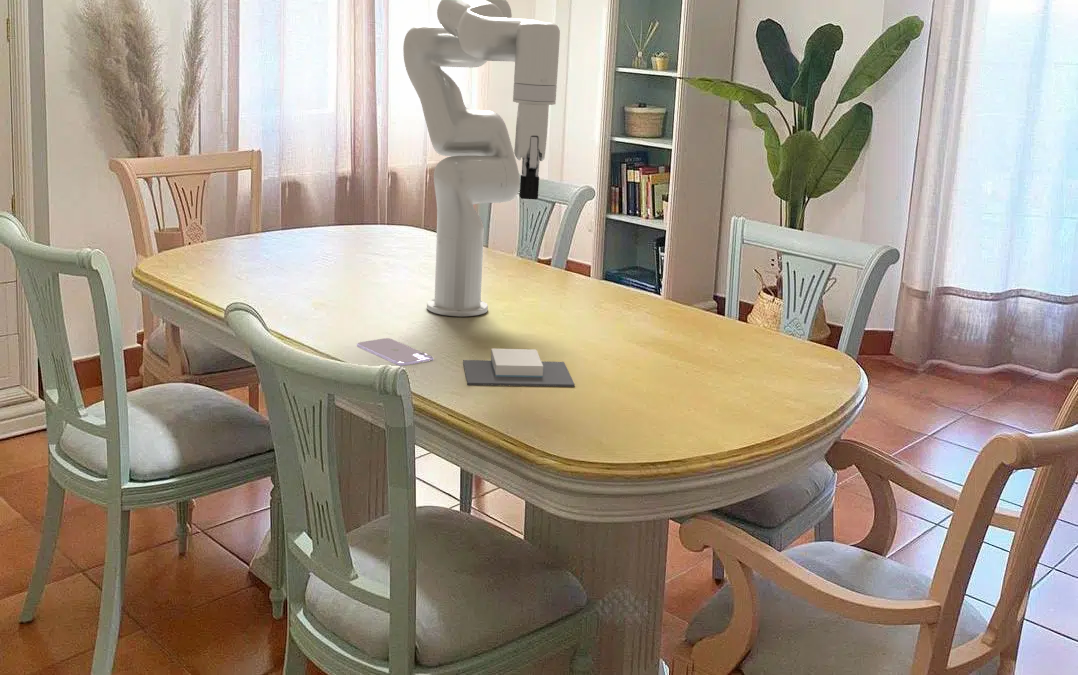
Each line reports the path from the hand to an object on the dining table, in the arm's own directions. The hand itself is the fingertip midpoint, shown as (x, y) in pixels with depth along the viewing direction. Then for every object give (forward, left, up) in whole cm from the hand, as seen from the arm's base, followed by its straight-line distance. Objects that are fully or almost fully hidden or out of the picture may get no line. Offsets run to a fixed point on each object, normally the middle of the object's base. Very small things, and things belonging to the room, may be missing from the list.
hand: (528, 198), depth 211 cm
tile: (+10, -2, -27) cm, 28 cm away
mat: (+17, -2, -28) cm, 33 cm away
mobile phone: (+5, -23, -29) cm, 37 cm away
